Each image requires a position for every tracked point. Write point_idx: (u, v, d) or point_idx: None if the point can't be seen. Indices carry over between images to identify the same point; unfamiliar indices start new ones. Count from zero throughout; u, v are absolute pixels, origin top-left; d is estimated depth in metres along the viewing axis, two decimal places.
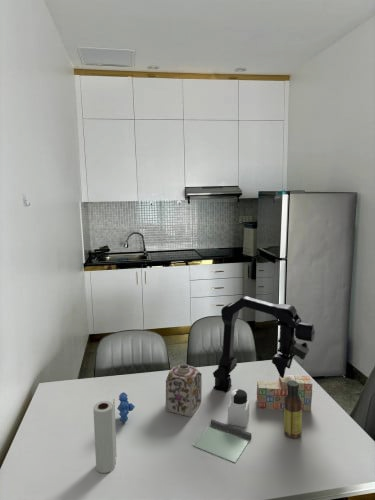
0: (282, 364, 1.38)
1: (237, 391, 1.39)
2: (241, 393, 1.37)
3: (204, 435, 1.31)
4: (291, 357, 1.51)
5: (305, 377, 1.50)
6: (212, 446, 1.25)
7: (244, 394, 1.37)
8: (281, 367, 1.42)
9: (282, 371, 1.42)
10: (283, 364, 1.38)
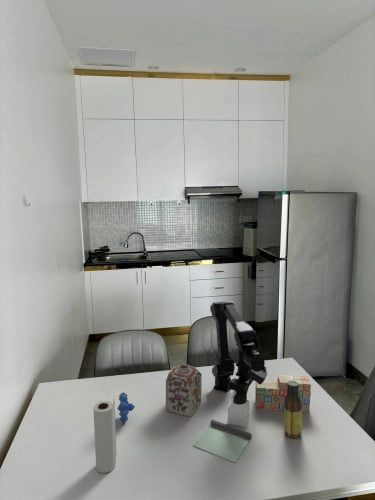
0: (238, 390, 1.33)
1: (237, 391, 1.38)
2: (241, 393, 1.37)
3: (204, 435, 1.31)
4: None
5: (304, 377, 1.49)
6: (212, 446, 1.25)
7: (244, 394, 1.37)
8: None
9: None
10: (239, 390, 1.33)
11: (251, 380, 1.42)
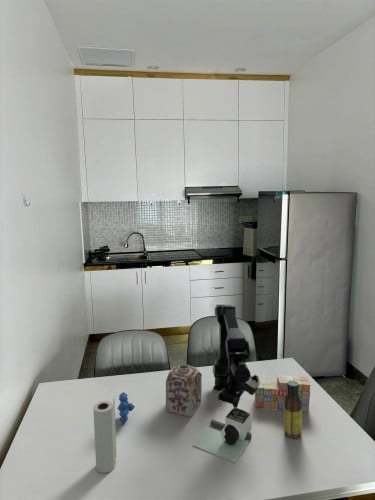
0: (228, 401, 1.26)
1: (225, 436, 1.25)
2: (230, 440, 1.24)
3: (204, 435, 1.31)
4: None
5: (303, 378, 1.49)
6: (212, 446, 1.25)
7: (233, 441, 1.24)
8: None
9: (235, 401, 1.34)
10: (229, 401, 1.26)
11: (242, 390, 1.35)
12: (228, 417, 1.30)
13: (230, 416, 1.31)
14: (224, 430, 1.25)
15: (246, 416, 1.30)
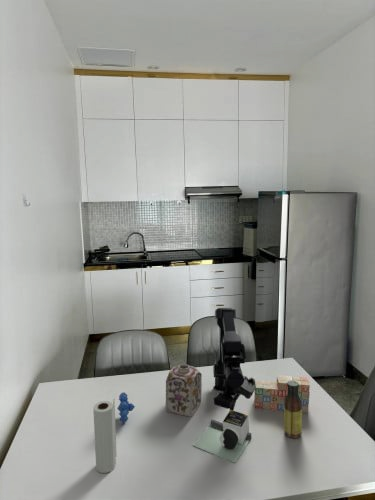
0: (224, 406, 1.24)
1: (224, 442, 1.23)
2: (229, 445, 1.22)
3: (204, 435, 1.31)
4: None
5: (303, 378, 1.49)
6: (212, 446, 1.25)
7: (232, 446, 1.22)
8: None
9: (231, 404, 1.32)
10: (225, 406, 1.23)
11: (239, 393, 1.32)
12: (225, 421, 1.28)
13: (228, 419, 1.28)
14: (223, 435, 1.23)
15: (244, 418, 1.28)
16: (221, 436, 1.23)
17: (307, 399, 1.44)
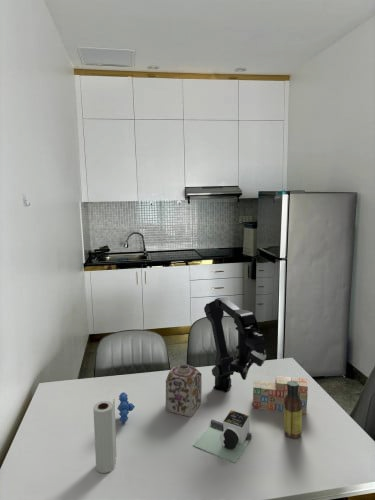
0: (238, 371, 1.38)
1: (224, 441, 1.23)
2: (229, 445, 1.22)
3: (204, 435, 1.31)
4: (247, 368, 1.47)
5: (302, 379, 1.48)
6: (212, 446, 1.25)
7: (233, 446, 1.22)
8: None
9: (243, 373, 1.46)
10: (239, 371, 1.38)
11: (251, 363, 1.47)
12: (226, 421, 1.28)
13: (228, 419, 1.28)
14: (223, 435, 1.23)
15: (244, 419, 1.28)
16: (221, 436, 1.24)
17: (305, 400, 1.43)
